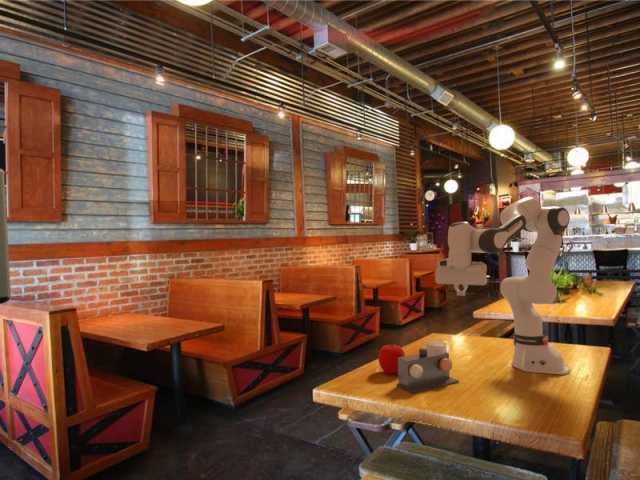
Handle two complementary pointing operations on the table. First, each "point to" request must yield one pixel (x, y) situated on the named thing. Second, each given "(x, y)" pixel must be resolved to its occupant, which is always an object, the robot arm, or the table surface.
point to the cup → (436, 346)
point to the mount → (424, 372)
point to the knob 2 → (445, 364)
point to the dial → (423, 351)
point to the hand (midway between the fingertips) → (461, 295)
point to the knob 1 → (416, 371)
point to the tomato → (390, 358)
